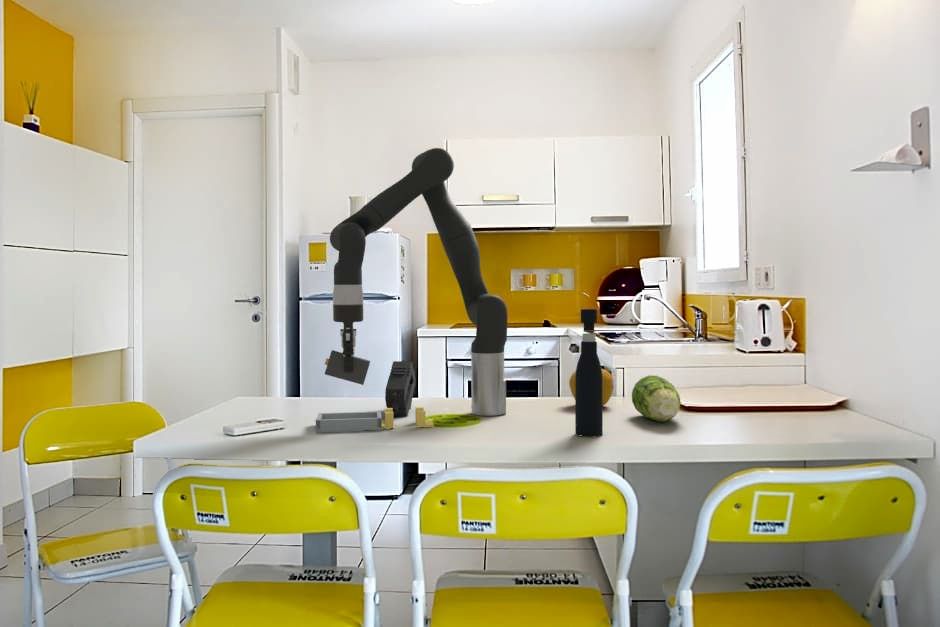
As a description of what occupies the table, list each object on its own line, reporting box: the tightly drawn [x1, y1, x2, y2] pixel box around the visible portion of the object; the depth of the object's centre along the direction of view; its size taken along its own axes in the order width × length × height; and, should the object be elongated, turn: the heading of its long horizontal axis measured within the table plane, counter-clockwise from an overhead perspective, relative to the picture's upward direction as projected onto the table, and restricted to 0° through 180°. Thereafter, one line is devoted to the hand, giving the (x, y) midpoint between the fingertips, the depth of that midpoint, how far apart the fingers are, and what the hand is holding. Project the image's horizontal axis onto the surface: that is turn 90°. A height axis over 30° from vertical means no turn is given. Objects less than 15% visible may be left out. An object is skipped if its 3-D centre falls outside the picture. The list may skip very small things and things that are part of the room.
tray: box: [315, 410, 383, 433], centre depth 178 cm, size 16×10×3 cm, turn 98°
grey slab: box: [324, 349, 371, 386], centre depth 178 cm, size 11×4×6 cm, turn 99°
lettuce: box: [631, 375, 682, 422], centre depth 184 cm, size 12×21×11 cm, turn 178°
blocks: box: [382, 406, 435, 430], centre depth 180 cm, size 14×7×4 cm, turn 98°
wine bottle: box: [574, 308, 604, 437], centre depth 168 cm, size 6×6×30 cm
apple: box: [568, 368, 614, 406], centre depth 208 cm, size 13×13×11 cm
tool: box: [384, 359, 417, 417], centre depth 198 cm, size 6×19×15 cm
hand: (348, 370), depth 178 cm, fingers closed on grey slab, 3 cm apart
